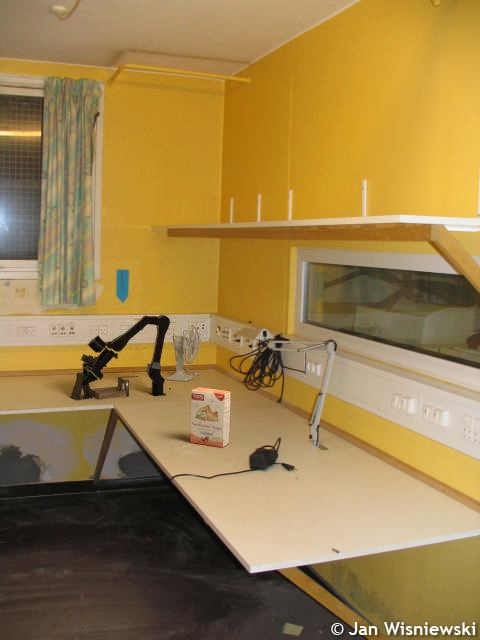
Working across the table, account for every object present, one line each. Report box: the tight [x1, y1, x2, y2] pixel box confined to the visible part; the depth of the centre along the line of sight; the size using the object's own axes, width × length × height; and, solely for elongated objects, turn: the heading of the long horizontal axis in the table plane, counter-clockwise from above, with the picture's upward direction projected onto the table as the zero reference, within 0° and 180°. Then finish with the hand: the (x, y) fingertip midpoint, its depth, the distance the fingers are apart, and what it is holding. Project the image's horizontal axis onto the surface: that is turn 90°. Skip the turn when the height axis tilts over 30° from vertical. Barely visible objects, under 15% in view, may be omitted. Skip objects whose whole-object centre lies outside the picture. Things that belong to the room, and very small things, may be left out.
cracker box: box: [190, 386, 232, 449], centre depth 269 cm, size 14×6×21 cm, turn 66°
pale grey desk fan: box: [165, 325, 202, 382], centre depth 395 cm, size 30×22×30 cm
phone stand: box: [70, 371, 94, 401], centre depth 338 cm, size 9×6×12 cm, turn 129°
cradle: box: [90, 376, 130, 400], centre depth 345 cm, size 11×16×8 cm
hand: (80, 383), depth 338 cm, fingers closed on phone stand, 6 cm apart
